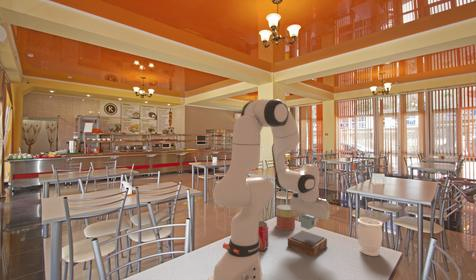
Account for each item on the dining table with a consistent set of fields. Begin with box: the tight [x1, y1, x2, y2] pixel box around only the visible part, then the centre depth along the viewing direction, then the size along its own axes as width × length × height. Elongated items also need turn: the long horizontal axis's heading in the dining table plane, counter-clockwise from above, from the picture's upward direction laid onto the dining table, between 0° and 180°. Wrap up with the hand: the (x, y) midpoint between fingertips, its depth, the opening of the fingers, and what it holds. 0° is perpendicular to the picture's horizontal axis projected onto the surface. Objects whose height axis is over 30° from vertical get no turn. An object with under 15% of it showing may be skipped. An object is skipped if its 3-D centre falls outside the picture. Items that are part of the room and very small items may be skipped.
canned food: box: [276, 204, 296, 231], centre depth 140 cm, size 11×11×12 cm
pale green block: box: [300, 214, 317, 230], centre depth 114 cm, size 4×7×5 cm, turn 133°
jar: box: [356, 217, 383, 257], centre depth 109 cm, size 11×10×15 cm
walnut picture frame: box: [287, 229, 328, 257], centre depth 114 cm, size 14×14×4 cm
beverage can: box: [258, 220, 269, 251], centre depth 113 cm, size 8×8×12 cm
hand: (308, 223), depth 114 cm, fingers closed on pale green block, 4 cm apart
